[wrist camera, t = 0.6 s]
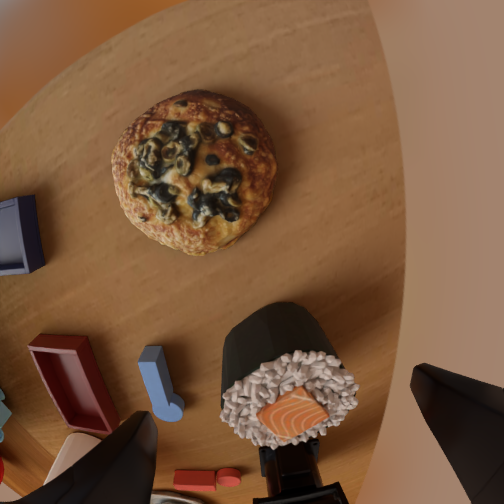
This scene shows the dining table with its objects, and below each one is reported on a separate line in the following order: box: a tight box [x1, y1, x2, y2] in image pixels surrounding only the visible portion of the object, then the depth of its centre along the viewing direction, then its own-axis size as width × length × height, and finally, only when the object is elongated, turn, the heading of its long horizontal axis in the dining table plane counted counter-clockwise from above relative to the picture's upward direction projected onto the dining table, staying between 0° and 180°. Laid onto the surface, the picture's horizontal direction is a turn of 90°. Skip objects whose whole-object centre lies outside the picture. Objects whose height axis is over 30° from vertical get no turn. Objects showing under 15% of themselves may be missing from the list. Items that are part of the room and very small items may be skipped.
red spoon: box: [173, 468, 241, 491], centre depth 25 cm, size 8×3×2 cm, turn 94°
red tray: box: [28, 334, 121, 435], centre depth 21 cm, size 10×6×2 cm, turn 4°
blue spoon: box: [138, 346, 185, 422], centre depth 22 cm, size 8×3×2 cm, turn 4°
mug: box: [43, 433, 102, 485], centre depth 21 cm, size 8×12×10 cm
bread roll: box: [111, 89, 278, 256], centre depth 17 cm, size 11×11×5 cm
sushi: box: [220, 303, 360, 450], centre depth 19 cm, size 8×8×8 cm
